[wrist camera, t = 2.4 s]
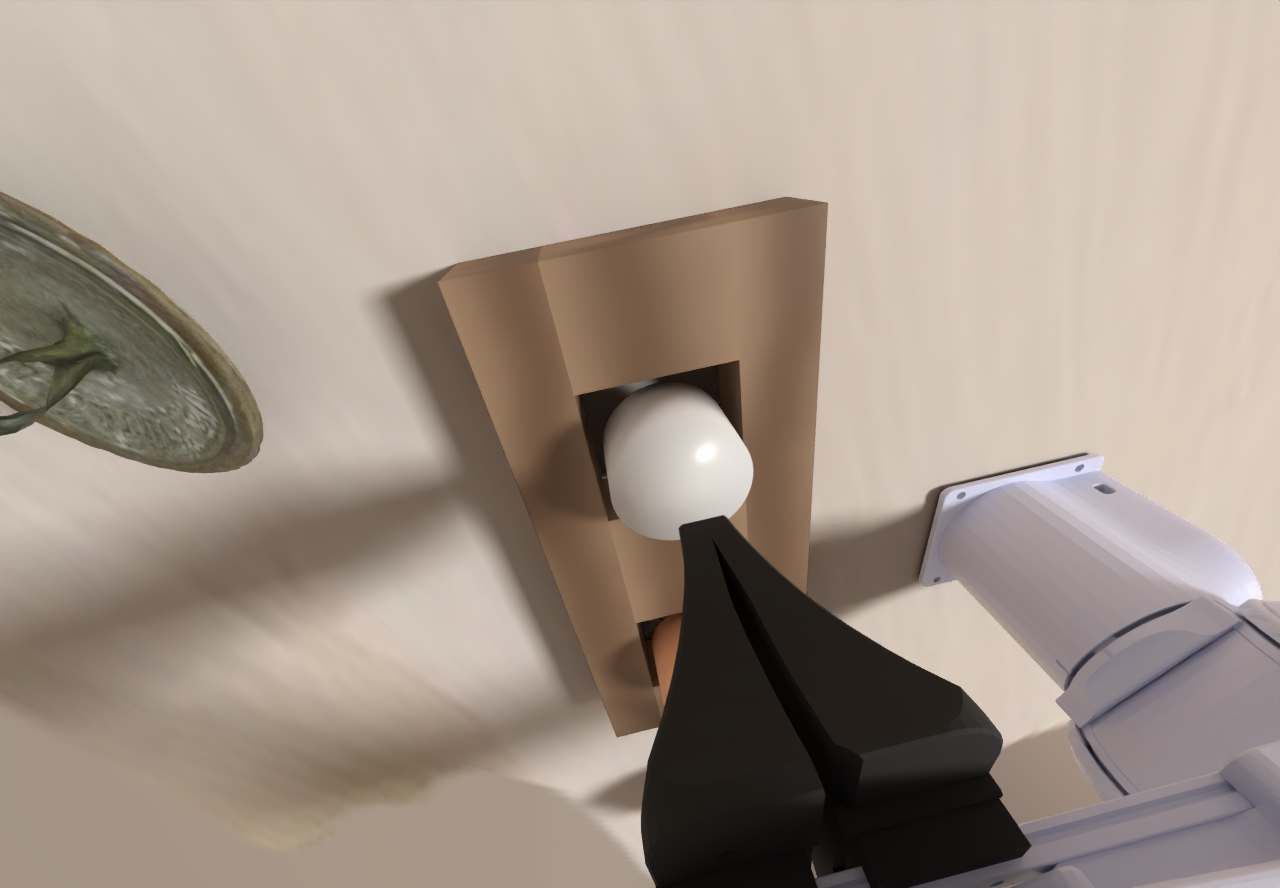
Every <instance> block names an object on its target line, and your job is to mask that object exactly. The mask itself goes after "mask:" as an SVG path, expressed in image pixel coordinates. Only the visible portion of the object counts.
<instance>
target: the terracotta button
mask: <svg viewBox="0 0 1280 888" xmlns="http://www.w3.org/2000/svg"><path fill="white" fill-rule="evenodd" d="M681 620H682V612H681V613H677V614H673V615H669V616H668V617H667V618H665V619H664V620H663V621H662V622H661V623H660V624H659V625H658V626H657V628H656V629H655V631H654V633H653V636H652V648H653V653H654V658H655V663H656V668H657V674H658V679H659V684H660V689H661V694H662V700H663V703H664V705H665V702H666V699H667V695H668V691H669V687H670V683H671V678H672V674H673V669H674V664H675V659H676V653H677V648H678V642H679V635H680V628H681Z"/></svg>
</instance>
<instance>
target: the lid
mask: <svg viewBox="0 0 1280 888" xmlns="http://www.w3.org/2000/svg"><path fill="white" fill-rule="evenodd" d="M0 400H1V401H3V402H4V403H6V404H7V405H9V406H10V407H12V408H13V409H14V410H16V411H18V412H17V413H15V414H12V415H9V416H0V436H2V435H7V434H12V433H16V432H18V431H20V430H22V429H24V428H26V427H28V426H30V425H32V424H33V423H34V422H35V421H36V422H38V423H40V424H42V425H44V426H47V427H49V428H51V429H53V430H55V431H58V432H60V433H62V434H64V435H66V436H69V437H71V438H74V439H77V440H79V441H81V442H83V443H85V444H87V445H90V446H92V447H95V448H99V449H103V450H106V451H109V452H111V453H114V454H116V455H118V456H121V457H124V458H127V459H131V460H135V461H139V462H141V463H144V464H148V465H151V466H156V467H159V468H166V469H172V470H176V471H183V472H190V473H215V472H227V471H230V470H236V469H239V468H240V467H242V466H244V465H247V464H248V463H250V462H251V461H252V459H253V458H255V457H256V456H257V455H258V453H259V450H260V444H261V442H262V440H263V424H262V418H261V414H260V411H259V409H258V406H257V403H256V401H255V399H254V396H253V394H252V392H251V390H250V388H249V387H248V385H247V383H246V381H245V380H244V378H243V377H242V375H241V374H240V373H239V371H238V370H237V368H236V367H235V365H234V364H233V363H232V361H231V360H230V359H229V357H228V356H227V355H226V354H225V352H224V351H223V350H222V349H221V347H220V346H219V345H218V344H217V343H216V342H215V341H214V340H213V339H212V338H211V336H210V335H209V334H208V333H207V332H206V331H205V330H204V329H203V328H202V327H201V326H200V325H199V324H198V323H197V322H196V321H195V320H194V319H193V318H192V317H191V316H190V315H188V314H187V313H186V312H185V311H184V310H183V309H182V308H181V307H180V306H178V305H177V304H176V303H175V302H174V301H173V300H171V299H170V298H169V297H168V296H167V295H166V294H165V293H163V292H162V291H161V290H160V289H159V288H158V287H157V286H155V285H154V284H153V283H151V282H150V281H149V280H148V279H146V278H145V277H143V276H142V275H140V274H139V273H137V272H136V271H134V270H133V269H131V268H130V267H128V266H127V265H125V264H124V263H123V262H121V261H120V260H119V259H118V258H116V257H115V256H114V255H113V254H111V253H110V252H109V251H107V250H106V249H105V248H103V247H102V246H101V245H99V244H98V243H96V242H94V241H92V240H90V239H88V238H86V237H85V236H83V235H81V234H79V233H77V232H76V231H74V230H72V229H71V228H69V227H68V226H66V225H64V224H63V223H61V222H60V221H58V220H56V219H55V218H53V217H51V216H50V215H48V214H46V213H44V212H42V211H40V210H38V209H36V208H33V207H31V206H29V205H27V204H25V203H23V202H21V201H19V200H17V199H15V198H13V197H11V196H8V195H6V194H4V193H2V192H0Z"/></svg>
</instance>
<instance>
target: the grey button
mask: <svg viewBox="0 0 1280 888" xmlns="http://www.w3.org/2000/svg"><path fill="white" fill-rule="evenodd" d="M603 451H604V457H605V464H606V470H607V477H608V483H609V490H610V496H611V502H612V505H613V508H614V510H615V512H616V514H617V516H618V517H619V518H620V519H621V521H622V522H623V523H624V524H625V525H626V526H627V527H629V528H630V529H632V530H633V531H635V532H637V533H639V534H641V535H643V536H646V537H649V538H653V539H659V540H680V535H679V529H678V528H679V527H680V526H681V525H682V524H686V523H691V522H695V521H699V520H704V519H708V518H712V517H717V516H721V515H724V516H726V517H727V518H728V519H729V518H730V517H731V516H733V515H734V514H735V513H736V511H737V510H738V509H739V508H740V507H741V505H742V504H743V502H744V501H745V499H746V497H747V495H748V493H749V491H750V488H751V485H752V480H753V463H752V459H751V456H750V453H749V451H748V449H747V448H746V446H745V444H744V443H743V441H742V440H741V438H740V437H739V435H738V434H737V432H736V431H735V429H734V428H733V426H732V425H731V423H730V422H729V420H728V419H727V417H726V416H725V414H724V413H723V411H722V410H721V408H720V407H719V405H718V404H717V402H716V401H715V400H714V399H713V398H712V397H711V396H710V395H709V394H708V393H706V392H705V391H703V390H702V389H700V388H698V387H695V386H693V385H690V384H686V383H680V382H663V383H656V384H653V385H649V386H646V387H644V388H641V389H639V390H637V391H636V392H634V393H632V394H631V395H629V396H628V397H626V398H625V399H624V400H623V401H622V402H621V403H620V404H619V405H618V406H617V407H616V408H615V409H614V411H613V412H612V414H611V415H610V417H609V419H608V421H607V423H606V426H605V429H604V434H603Z"/></svg>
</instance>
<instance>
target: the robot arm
mask: <svg viewBox="0 0 1280 888" xmlns="http://www.w3.org/2000/svg"><path fill="white" fill-rule="evenodd" d="M1103 463H1104V457H1102V456H1100V455H1099V454H1097V453H1095V454H1090V455H1085V456H1081V457H1077V458H1072V459H1068V460H1064V461H1059V462H1055V463H1051V464H1047V465H1042V466H1038V467H1034V468H1029V469H1025V470H1021V471H1016V472H1012V473H1008V474H1003V475H999V476H995V477H991V478H986V479H982V480H978V481H973V482H969V483H965V484H960V485H956V486H952V487H948V488H946V489H944V490H943V491H942V492H941V494H940V496H939V500H938V504H937V508H936V512H935V516H934V520H933V524H932V528H931V532H930V536H929V540H928V544H927V548H926V552H925V556H924V560H923V564H922V567H921V571H920V575H919V582H920V583H921V584H922V586H925V587H926V586H932V585H936V584H940V583H944V582H948V581H952V580H958V581H959V582H960V583H961V584H962V585H963V586H964V587H965V588H966V589H967V591H968V592H969V593H970V594H971V595H972V596H973V597H974V598H975V599H976V600H977V601H978V602H979V603H980V604H981V605H982V606H983V607H984V608H985V609H986V610H987V611H988V612H989V614H990V615H991V616H992V617H993V618H994V619H995V620H996V621H997V622H998V623H999V624H1000V625H1001V626H1002V627H1003V628H1004V629H1005V630H1006V631H1007V632H1008V633H1009V634H1010V635H1011V637H1012V638H1013V639H1014V640H1015V641H1016V642H1017V643H1018V644H1019V645H1020V646H1021V647H1022V648H1023V649H1024V650H1025V651H1026V652H1027V653H1028V654H1029V655H1030V656H1031V657H1032V659H1033V660H1034V661H1035V662H1036V663H1037V664H1038V665H1039V666H1040V667H1041V668H1042V669H1043V670H1044V671H1045V672H1046V673H1047V674H1048V675H1049V676H1050V677H1051V678H1052V679H1053V680H1054V682H1055V683H1056V684H1057V685H1058V686H1059V687H1060V688H1061V689H1062V690H1063V691H1064V693H1063V694H1062V695H1061V696H1060V697H1058V698H1057V699H1056V703H1057V704H1058V705H1059V706H1060V707H1061V708H1062V709H1063V710H1064V711H1065V713H1066V714H1067V715H1068V716H1069V717H1070V718H1071V719H1072V720H1070V721H1069V722H1068V724H1067V727H1066V732H1067V737H1068V740H1069V743H1070V746H1071V749H1072V753H1073V756H1074V758H1075V760H1076V762H1077V764H1078V766H1079V768H1080V770H1081V771H1082V773H1083V775H1084V776H1085V777H1086V779H1087V781H1088V782H1089V783H1090V785H1091V786H1092V787H1093V789H1094V790H1095V791H1096V793H1097V794H1098V795H1099V796H1100V798H1101V799H1102V800H1103V801H1104V802H1101V803H1097V804H1093V805H1089V806H1085V807H1082V808H1078V809H1074V810H1070V811H1067V812H1063V813H1059V814H1055V815H1052V816H1048V817H1044V818H1040V819H1036V820H1033V821H1029V822H1025V823H1022V824H1018V825H1017V824H1016V822H1015V821H1014V819H1013V818H1012V816H1011V815H1010V813H1009V812H1008V811H1007V809H1006V808H1005V806H1004V805H1003V803H1002V802H1001V800H1000V799H999V798H1001V797H1002V796H1003V794H1002V792H1001V789H1000V788H999V786H998V785H997V784H996V782H995V781H994V779H993V778H992V776H991V775H990V774H989V771H990V769H991V768H992V766H993V764H994V762H995V761H996V759H997V757H998V756H999V754H1000V751H1001V748H1002V745H1003V739H1002V736H1001V734H1000V732H999V731H998V730H997V728H996V727H995V726H994V725H993V723H992V722H991V721H990V719H989V718H988V717H987V716H986V714H985V713H984V712H983V711H982V710H981V709H980V708H979V706H978V705H977V704H976V703H975V702H974V701H973V700H972V699H971V698H970V697H969V696H968V695H967V694H966V693H965V691H964V690H963V689H962V688H961V687H959V686H957V685H955V684H953V683H951V682H949V681H947V680H945V679H943V678H941V677H939V676H937V675H935V674H933V673H931V672H929V671H927V670H925V669H923V668H921V667H919V666H917V665H915V664H913V663H911V662H909V661H908V660H906V659H904V658H902V657H900V656H899V655H897V654H895V653H893V652H891V651H890V650H888V649H886V648H884V647H883V646H881V645H880V644H878V643H876V642H875V641H873V640H871V639H870V638H868V637H867V636H865V635H863V634H862V633H860V632H859V631H857V630H855V629H854V628H852V627H850V626H849V625H847V624H846V623H844V622H843V621H842V620H840V619H839V618H837V617H836V616H834V615H833V614H831V613H830V612H829V611H827V610H826V609H825V608H823V607H822V606H820V605H819V604H818V603H816V602H815V601H814V600H812V599H811V598H810V597H809V596H807V595H806V594H805V593H804V592H802V591H801V590H800V589H799V588H797V587H796V586H795V585H794V584H793V583H792V582H790V581H789V580H788V579H787V578H786V577H785V576H783V575H782V574H781V573H780V572H779V571H778V570H777V569H776V568H775V567H774V566H772V565H771V564H770V563H769V562H768V561H767V560H766V559H765V558H764V557H763V556H762V555H761V554H760V553H759V552H758V551H757V550H756V549H755V548H754V547H753V546H752V545H751V544H750V543H749V542H748V541H747V540H746V539H745V538H744V536H743V535H742V534H741V533H740V532H739V531H738V530H737V529H736V528H735V526H734V525H733V524H732V523H731V522H730V520H729V519H728V518H727V517H726V516H724V515H721V516H717V517H712V518H708V519H704V520H699V521H695V522H691V523H686V524H682V525H681V526H680V527H679V528H678V529H679V535H680V542H681V548H682V554H683V560H684V596H683V610H682V620H681V628H680V635H679V642H678V648H677V653H676V659H675V664H674V669H673V674H672V678H671V683H670V687H669V691H668V695H667V699H666V702H665V706H664V710H663V714H662V718H661V721H660V725H659V728H658V731H657V734H656V737H655V740H654V744H653V747H652V750H651V753H650V756H649V759H648V764H647V773H646V779H645V786H644V793H643V801H642V811H641V834H642V842H643V849H644V856H645V863H646V866H647V868H648V870H649V872H650V874H651V877H652V879H653V881H654V883H655V885H656V888H1002V887H1006V886H1010V885H1013V884H1017V883H1020V884H1018V885H1016V886H1013V887H1011V888H1280V602H1275V601H1263V598H1262V591H1261V587H1260V584H1259V582H1258V580H1257V578H1256V577H1255V575H1254V573H1253V572H1252V571H1251V569H1250V568H1249V566H1248V565H1247V564H1246V563H1245V562H1244V560H1243V559H1242V558H1241V557H1240V556H1239V555H1238V554H1237V553H1236V552H1235V551H1234V550H1233V549H1232V548H1230V547H1229V546H1228V545H1227V544H1225V543H1224V542H1223V541H1221V540H1220V539H1218V538H1217V537H1215V536H1214V535H1212V534H1210V533H1209V532H1207V531H1205V530H1203V529H1202V528H1200V527H1198V526H1196V525H1195V524H1193V523H1191V522H1189V521H1187V520H1186V519H1184V518H1182V517H1180V516H1179V515H1177V514H1175V513H1173V512H1172V511H1170V510H1168V509H1166V508H1165V507H1163V506H1161V505H1159V504H1158V503H1156V502H1154V501H1152V500H1151V499H1149V498H1147V497H1145V496H1144V495H1142V494H1140V493H1138V492H1136V491H1135V490H1133V489H1131V488H1129V487H1128V486H1126V485H1124V484H1122V483H1121V482H1119V481H1117V480H1115V479H1114V478H1112V477H1110V476H1108V475H1107V474H1105V473H1103V472H1101V471H1100V469H1101V467H1102V465H1103ZM812 861H813V864H814V867H815V871H816V875H817V878H814V875H813V872H812V870H811V863H812ZM1021 882H1023V883H1021Z"/></svg>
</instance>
